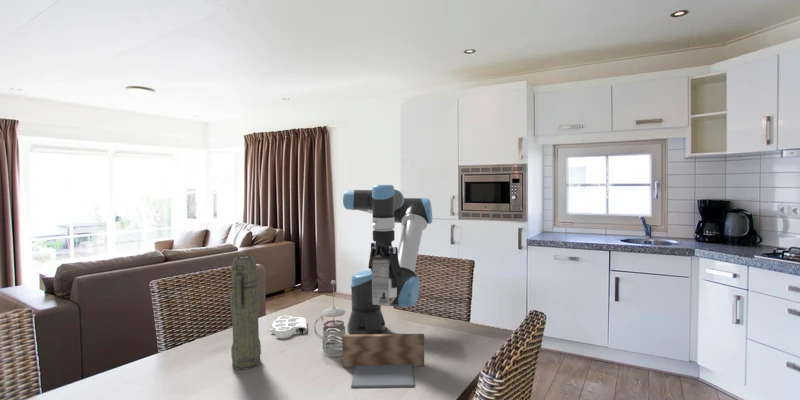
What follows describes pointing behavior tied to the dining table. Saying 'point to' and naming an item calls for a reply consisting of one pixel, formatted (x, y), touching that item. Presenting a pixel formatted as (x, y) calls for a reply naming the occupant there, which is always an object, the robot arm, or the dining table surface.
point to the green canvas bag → (245, 313)
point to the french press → (332, 346)
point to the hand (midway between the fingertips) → (384, 293)
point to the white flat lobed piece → (288, 326)
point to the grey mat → (382, 376)
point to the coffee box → (380, 281)
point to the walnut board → (383, 349)
